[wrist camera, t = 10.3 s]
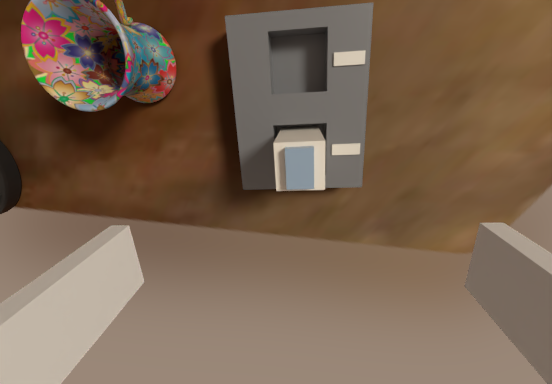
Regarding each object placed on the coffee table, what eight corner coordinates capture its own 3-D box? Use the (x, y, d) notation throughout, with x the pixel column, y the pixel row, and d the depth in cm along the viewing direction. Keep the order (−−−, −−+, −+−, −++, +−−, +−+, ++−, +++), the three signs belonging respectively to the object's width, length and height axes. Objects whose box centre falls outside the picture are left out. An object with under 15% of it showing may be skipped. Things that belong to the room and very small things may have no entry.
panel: (249, 179, 36) (242, 190, 32) (234, 25, 29) (224, 15, 25) (355, 176, 34) (362, 187, 30) (363, 14, 28) (373, 1, 24)
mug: (180, 113, 33) (129, 121, 23) (109, 97, 33) (28, 99, 23) (187, 1, 29) (128, -46, 19) (105, -16, 29) (4, -72, 19)
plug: (283, 163, 33) (275, 194, 23) (281, 128, 32) (272, 144, 22) (318, 162, 33) (325, 193, 23) (318, 126, 31) (326, 142, 21)
